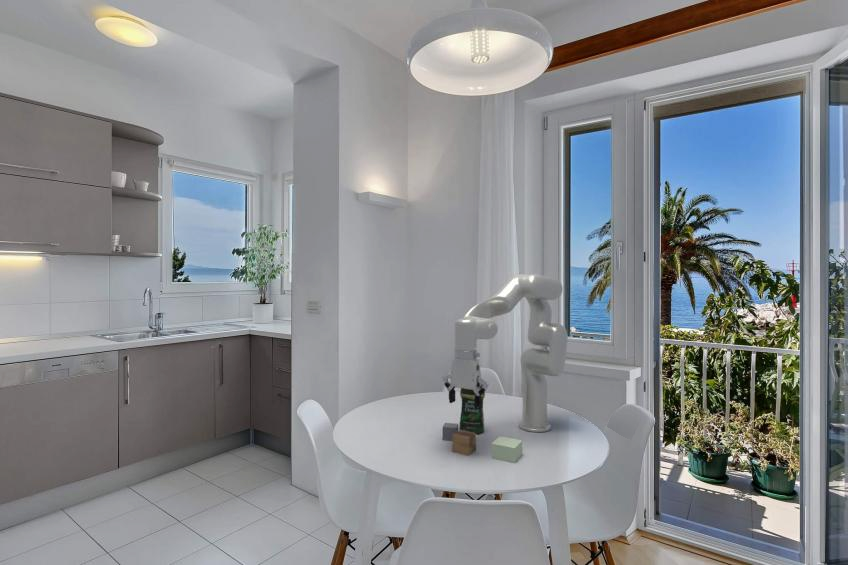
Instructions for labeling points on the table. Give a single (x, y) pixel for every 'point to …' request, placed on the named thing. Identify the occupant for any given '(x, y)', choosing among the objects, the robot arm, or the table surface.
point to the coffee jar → (471, 412)
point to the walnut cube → (464, 442)
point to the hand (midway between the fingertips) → (464, 404)
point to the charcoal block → (449, 431)
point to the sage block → (506, 449)
